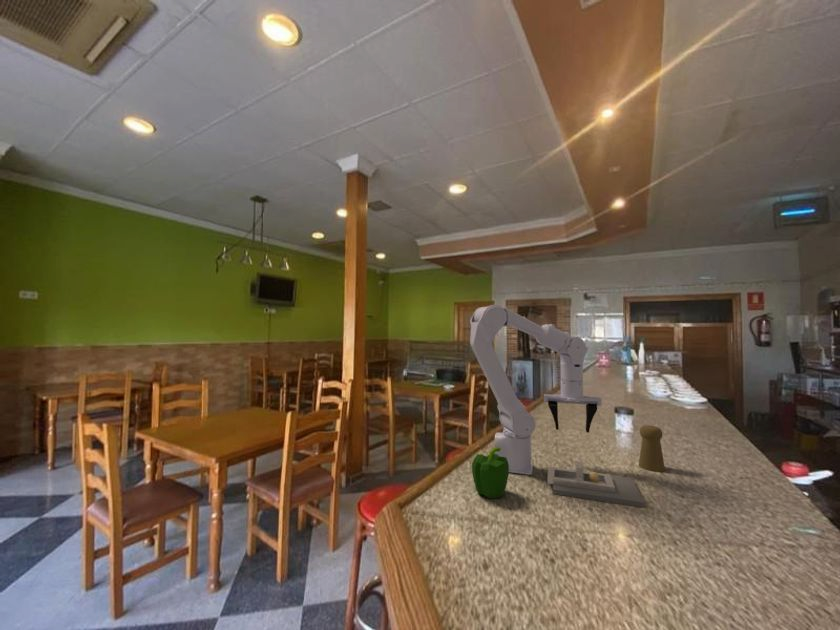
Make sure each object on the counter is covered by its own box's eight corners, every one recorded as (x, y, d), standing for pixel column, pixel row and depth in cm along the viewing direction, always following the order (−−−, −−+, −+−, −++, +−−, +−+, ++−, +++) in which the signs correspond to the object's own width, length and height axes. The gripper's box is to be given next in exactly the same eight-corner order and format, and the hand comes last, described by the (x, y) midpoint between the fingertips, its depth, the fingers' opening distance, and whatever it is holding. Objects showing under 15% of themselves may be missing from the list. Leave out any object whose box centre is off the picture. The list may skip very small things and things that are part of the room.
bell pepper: (478, 503, 78) (478, 455, 78) (467, 487, 86) (467, 443, 86) (516, 501, 79) (516, 453, 79) (501, 485, 87) (501, 442, 87)
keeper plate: (552, 493, 83) (552, 478, 83) (552, 471, 96) (552, 458, 96) (645, 507, 76) (644, 491, 77) (631, 481, 90) (631, 468, 90)
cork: (669, 472, 96) (668, 429, 96) (643, 470, 97) (642, 428, 98) (659, 464, 102) (658, 424, 102) (635, 462, 103) (634, 422, 103)
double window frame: (547, 483, 86) (547, 466, 86) (548, 471, 93) (548, 455, 93) (615, 493, 81) (614, 474, 81) (610, 479, 88) (609, 462, 89)
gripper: (543, 380, 100) (543, 431, 100) (602, 383, 95) (603, 436, 95) (544, 377, 107) (544, 425, 106) (599, 380, 102) (600, 430, 101)
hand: (572, 430), depth 101 cm, fingers open, 7 cm apart
